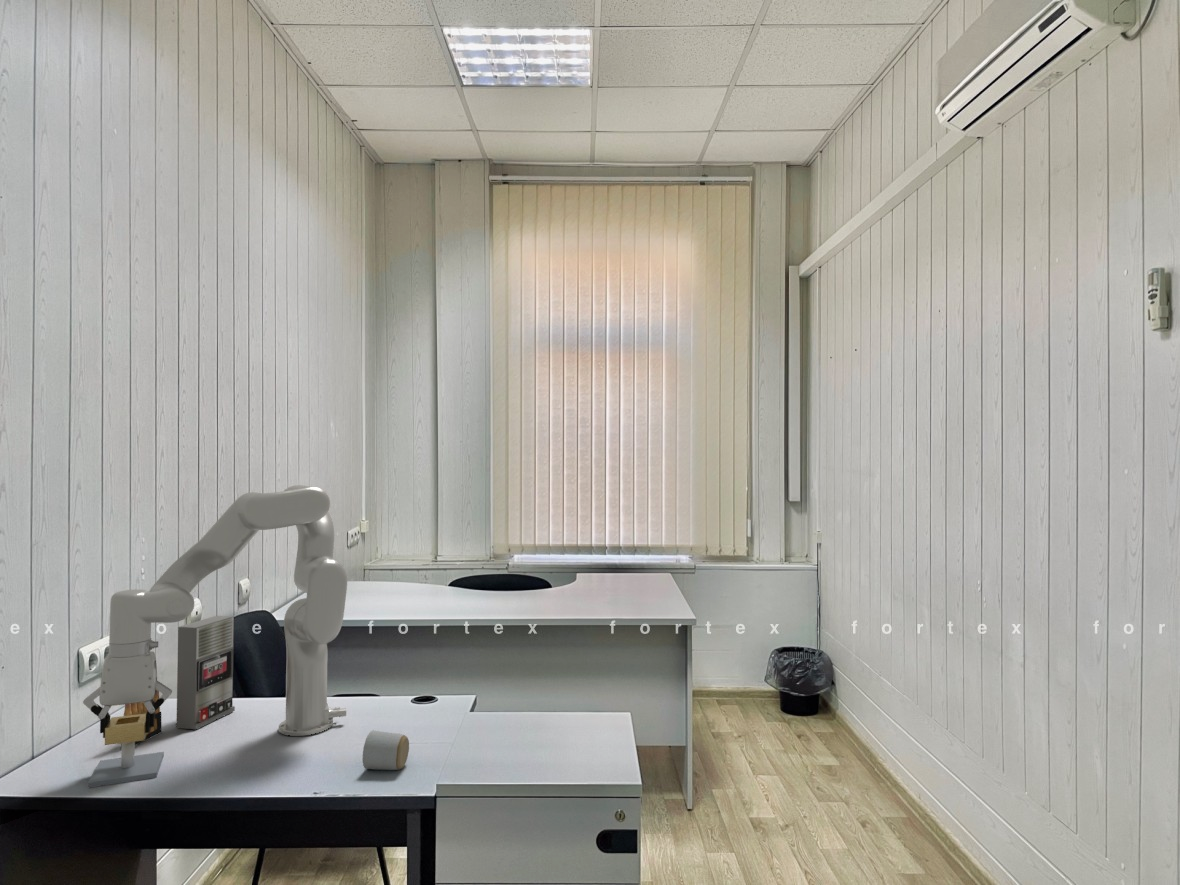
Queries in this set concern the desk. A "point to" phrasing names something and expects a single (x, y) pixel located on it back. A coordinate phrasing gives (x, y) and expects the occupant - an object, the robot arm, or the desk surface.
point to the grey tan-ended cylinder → (385, 751)
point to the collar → (125, 729)
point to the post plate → (128, 774)
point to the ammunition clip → (141, 709)
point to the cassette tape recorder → (204, 671)
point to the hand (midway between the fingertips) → (127, 732)
